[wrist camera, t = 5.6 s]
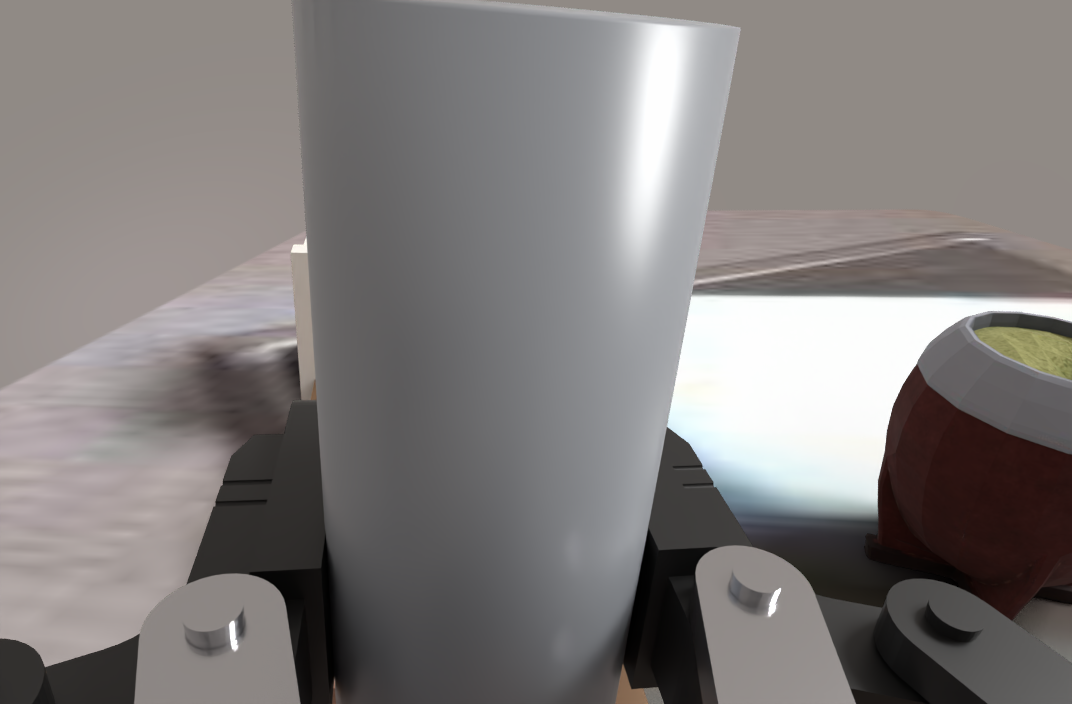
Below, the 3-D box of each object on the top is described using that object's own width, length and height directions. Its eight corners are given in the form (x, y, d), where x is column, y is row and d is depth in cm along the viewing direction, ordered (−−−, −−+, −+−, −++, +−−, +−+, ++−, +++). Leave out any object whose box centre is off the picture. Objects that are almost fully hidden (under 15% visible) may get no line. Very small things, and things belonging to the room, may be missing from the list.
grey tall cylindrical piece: (261, 1178, 10) (-7, -25, 3) (310, 760, 15) (239, -23, 8) (668, 1097, 11) (1041, 60, 4) (581, 732, 16) (696, 16, 9)
